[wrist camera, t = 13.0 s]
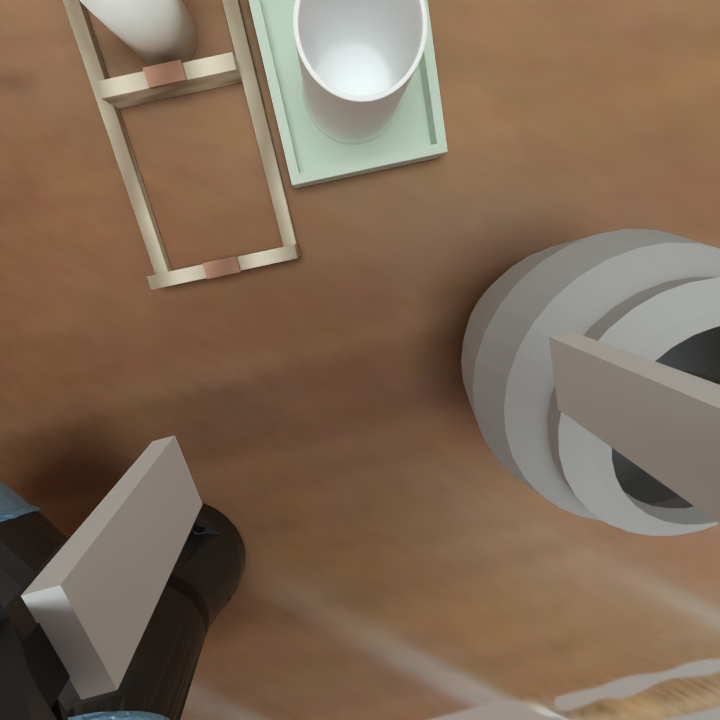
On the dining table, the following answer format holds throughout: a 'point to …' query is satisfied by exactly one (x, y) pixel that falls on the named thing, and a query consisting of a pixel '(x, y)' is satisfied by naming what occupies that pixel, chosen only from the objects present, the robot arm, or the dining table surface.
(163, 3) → the white capsule
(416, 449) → the dining table surface
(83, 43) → the caddy
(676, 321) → the vase
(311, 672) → the dining table surface
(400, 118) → the tray
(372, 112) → the mug
